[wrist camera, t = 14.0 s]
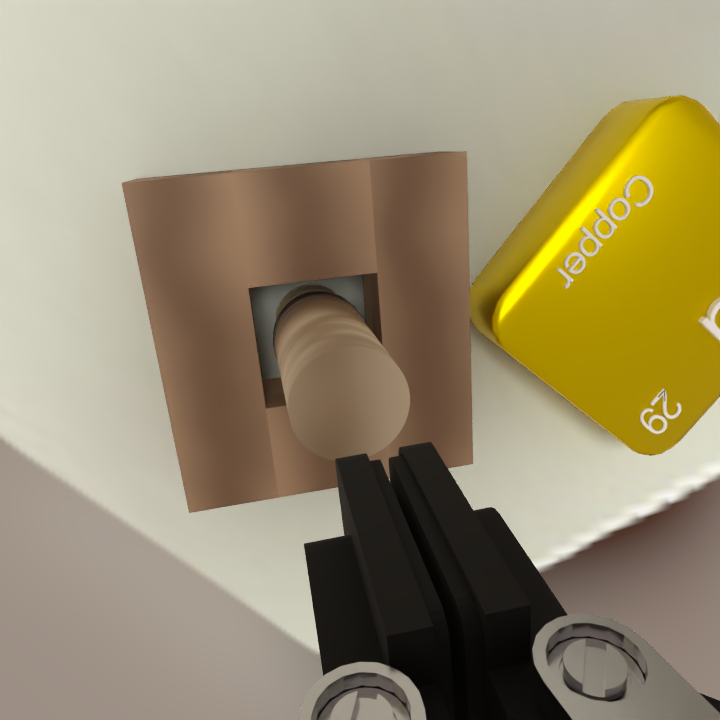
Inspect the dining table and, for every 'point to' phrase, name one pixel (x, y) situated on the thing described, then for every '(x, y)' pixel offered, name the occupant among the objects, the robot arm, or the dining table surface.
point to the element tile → (620, 275)
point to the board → (297, 264)
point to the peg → (336, 376)
